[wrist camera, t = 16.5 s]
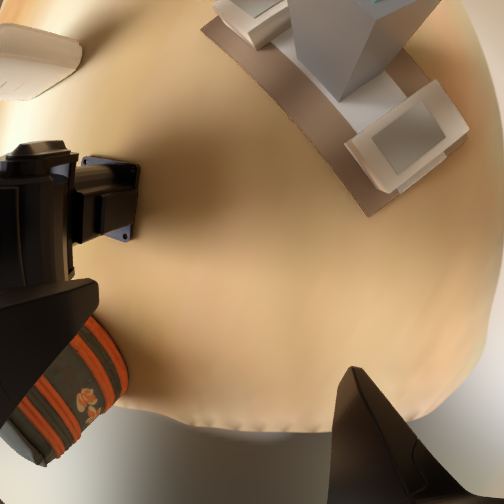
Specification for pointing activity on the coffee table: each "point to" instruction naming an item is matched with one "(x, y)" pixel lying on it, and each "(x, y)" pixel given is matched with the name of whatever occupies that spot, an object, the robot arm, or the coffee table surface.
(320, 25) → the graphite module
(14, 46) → the photo printer
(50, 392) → the beer stein
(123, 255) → the coffee table surface
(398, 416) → the robot arm
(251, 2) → the board
